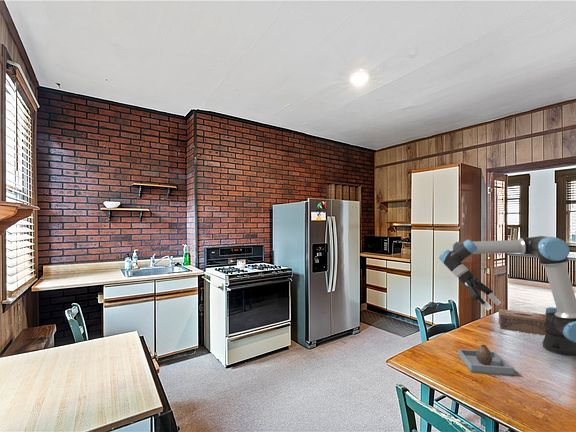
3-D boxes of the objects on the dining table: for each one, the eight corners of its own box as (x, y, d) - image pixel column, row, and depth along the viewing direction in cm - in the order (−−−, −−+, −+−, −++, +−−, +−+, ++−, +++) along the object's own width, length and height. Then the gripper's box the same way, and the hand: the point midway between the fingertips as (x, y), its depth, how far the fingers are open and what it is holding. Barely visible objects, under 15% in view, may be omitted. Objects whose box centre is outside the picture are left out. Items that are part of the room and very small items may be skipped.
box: (495, 358, 155) (495, 351, 155) (514, 376, 138) (513, 368, 138) (458, 355, 159) (457, 349, 159) (471, 372, 141) (471, 365, 141)
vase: (489, 360, 151) (489, 343, 151) (494, 367, 144) (494, 349, 144) (474, 359, 153) (474, 342, 153) (478, 365, 146) (478, 347, 146)
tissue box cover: (546, 329, 196) (546, 314, 196) (551, 337, 183) (551, 320, 183) (498, 323, 209) (498, 308, 209) (500, 329, 197) (500, 314, 197)
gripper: (467, 275, 176) (497, 306, 164) (448, 281, 161) (480, 315, 149) (477, 267, 172) (508, 298, 160) (458, 272, 157) (492, 307, 145)
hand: (495, 306), depth 154 cm, fingers open, 13 cm apart
